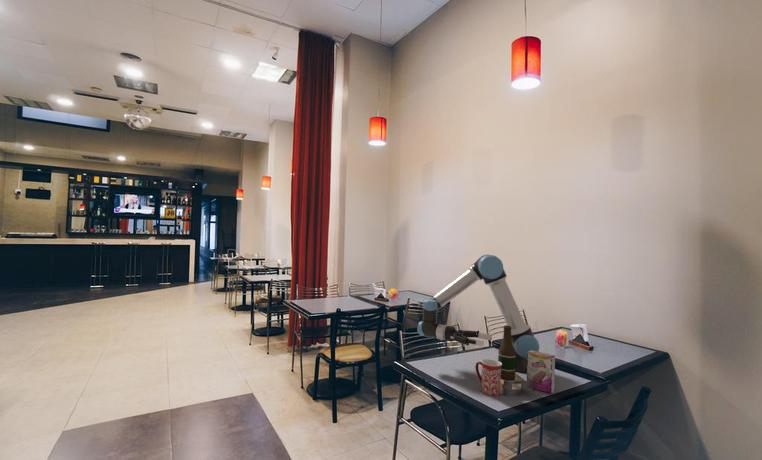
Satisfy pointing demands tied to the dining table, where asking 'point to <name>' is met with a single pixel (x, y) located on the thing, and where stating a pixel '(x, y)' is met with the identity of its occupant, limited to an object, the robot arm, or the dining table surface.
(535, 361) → the candy bar box
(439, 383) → the dining table surface
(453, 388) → the dining table surface
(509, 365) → the beer bottle
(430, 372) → the dining table surface
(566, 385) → the dining table surface
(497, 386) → the mug
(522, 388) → the shelf step
